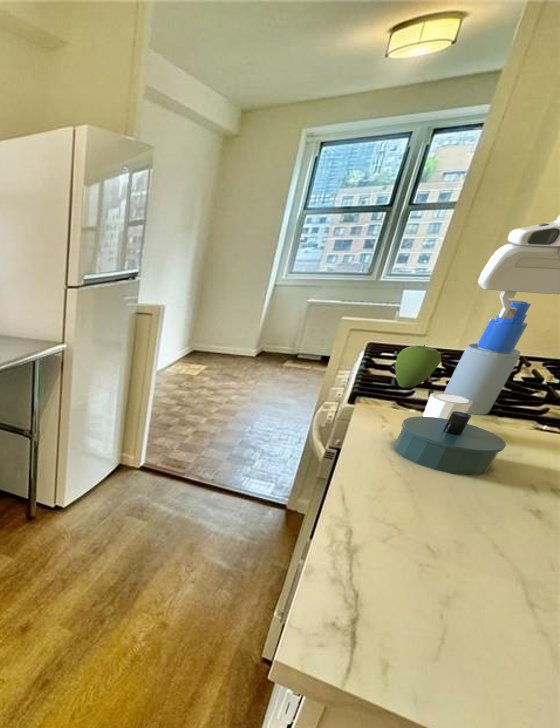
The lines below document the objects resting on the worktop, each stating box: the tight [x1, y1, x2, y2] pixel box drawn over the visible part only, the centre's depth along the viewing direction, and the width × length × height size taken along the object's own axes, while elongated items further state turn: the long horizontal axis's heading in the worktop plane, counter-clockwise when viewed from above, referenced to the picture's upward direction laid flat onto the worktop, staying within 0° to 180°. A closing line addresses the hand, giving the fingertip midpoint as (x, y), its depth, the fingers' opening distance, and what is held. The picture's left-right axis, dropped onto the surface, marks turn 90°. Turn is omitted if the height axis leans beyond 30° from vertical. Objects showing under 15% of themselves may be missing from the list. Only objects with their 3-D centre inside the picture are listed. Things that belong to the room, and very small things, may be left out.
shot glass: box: [422, 392, 472, 419], centre depth 106 cm, size 7×7×7 cm
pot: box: [393, 427, 499, 476], centre depth 93 cm, size 14×14×5 cm
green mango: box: [394, 344, 442, 389], centre depth 126 cm, size 9×8×12 cm
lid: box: [401, 411, 507, 453], centre depth 91 cm, size 15×15×5 cm
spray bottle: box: [443, 300, 531, 416], centre depth 111 cm, size 9×9×25 cm
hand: (543, 321), depth 83 cm, fingers open, 8 cm apart
